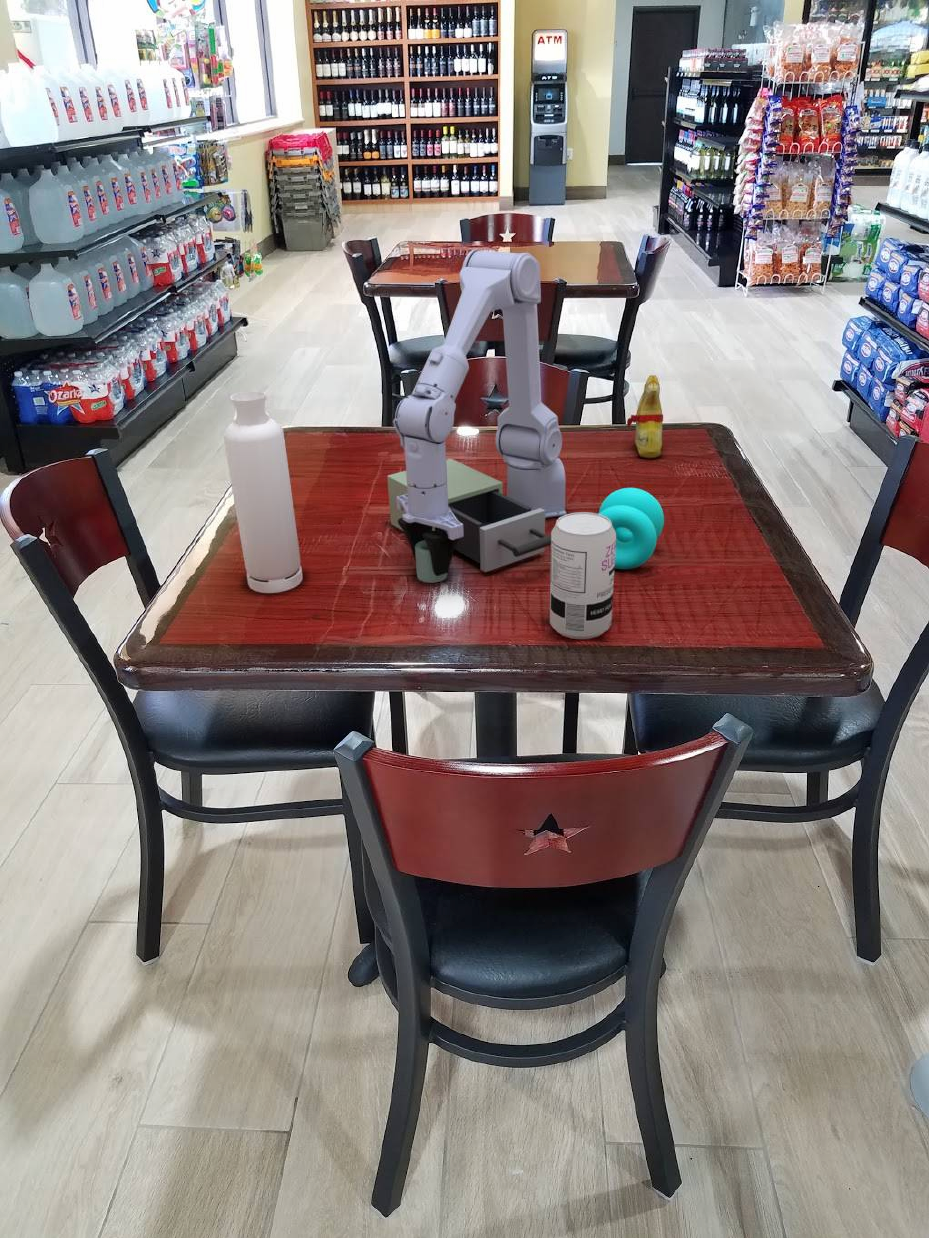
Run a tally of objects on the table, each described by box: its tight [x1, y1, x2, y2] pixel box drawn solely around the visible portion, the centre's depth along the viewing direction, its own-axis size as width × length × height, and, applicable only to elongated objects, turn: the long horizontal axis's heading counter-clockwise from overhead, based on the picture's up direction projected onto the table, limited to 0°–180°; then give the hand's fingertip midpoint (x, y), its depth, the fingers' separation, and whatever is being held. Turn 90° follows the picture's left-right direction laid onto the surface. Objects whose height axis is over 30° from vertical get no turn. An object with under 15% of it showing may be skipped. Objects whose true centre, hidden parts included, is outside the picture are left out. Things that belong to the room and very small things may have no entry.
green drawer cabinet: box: [386, 458, 504, 532], centre depth 152 cm, size 15×13×9 cm
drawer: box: [448, 490, 551, 573], centre depth 141 cm, size 19×11×7 cm, turn 35°
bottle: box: [223, 390, 303, 594], centre depth 132 cm, size 8×8×28 cm
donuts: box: [598, 487, 665, 570], centre depth 140 cm, size 10×10×10 cm
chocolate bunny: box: [626, 374, 664, 459], centre depth 179 cm, size 7×11×15 cm, turn 176°
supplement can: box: [549, 511, 616, 640], centre depth 121 cm, size 8×8×15 cm
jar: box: [415, 540, 448, 584], centre depth 138 cm, size 4×5×5 cm
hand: (431, 567), depth 138 cm, fingers closed on jar, 4 cm apart
